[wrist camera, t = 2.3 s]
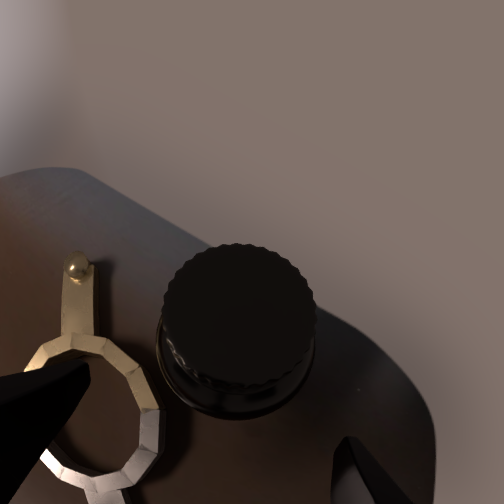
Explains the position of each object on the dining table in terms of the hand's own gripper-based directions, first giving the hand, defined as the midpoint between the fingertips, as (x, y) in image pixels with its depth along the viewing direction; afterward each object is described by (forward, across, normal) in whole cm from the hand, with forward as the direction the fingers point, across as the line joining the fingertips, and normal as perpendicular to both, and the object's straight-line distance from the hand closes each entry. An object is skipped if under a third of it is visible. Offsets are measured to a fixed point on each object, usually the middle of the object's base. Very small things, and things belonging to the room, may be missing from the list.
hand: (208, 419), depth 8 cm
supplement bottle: (+10, 0, +5) cm, 11 cm away
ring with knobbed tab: (+9, +12, +6) cm, 16 cm away
